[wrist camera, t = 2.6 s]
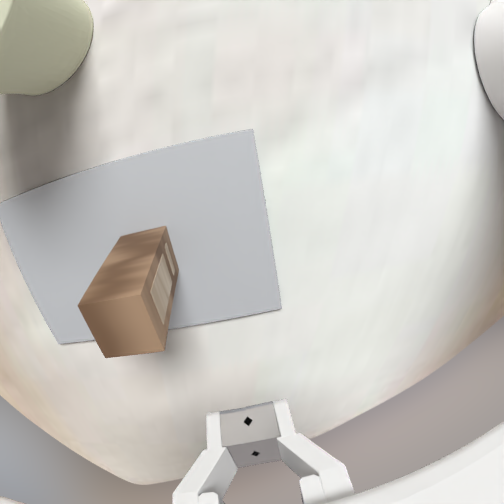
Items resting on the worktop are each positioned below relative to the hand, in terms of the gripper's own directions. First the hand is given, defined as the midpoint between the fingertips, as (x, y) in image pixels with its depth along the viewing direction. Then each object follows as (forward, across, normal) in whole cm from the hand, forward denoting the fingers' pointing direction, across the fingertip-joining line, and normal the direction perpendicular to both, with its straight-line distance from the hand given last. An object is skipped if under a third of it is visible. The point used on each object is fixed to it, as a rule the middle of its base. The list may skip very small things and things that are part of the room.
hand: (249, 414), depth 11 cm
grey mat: (+17, +8, 0) cm, 19 cm away
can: (+17, +11, -20) cm, 29 cm away
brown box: (+17, +6, 0) cm, 18 cm away
